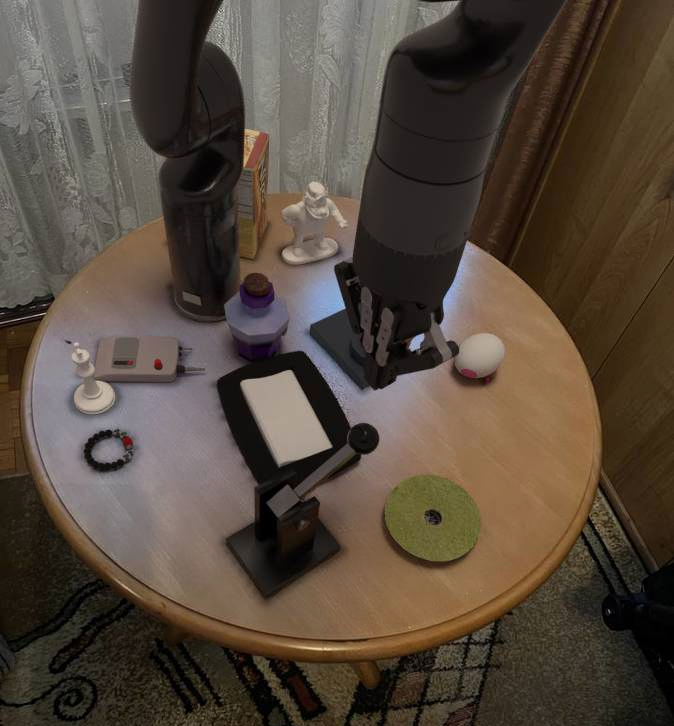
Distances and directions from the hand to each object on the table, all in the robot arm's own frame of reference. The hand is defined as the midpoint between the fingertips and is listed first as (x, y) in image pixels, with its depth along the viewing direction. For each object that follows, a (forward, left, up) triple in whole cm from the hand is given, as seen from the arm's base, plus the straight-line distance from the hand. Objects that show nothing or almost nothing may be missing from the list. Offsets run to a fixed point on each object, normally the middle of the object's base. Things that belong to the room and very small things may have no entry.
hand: (377, 381), depth 57 cm
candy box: (-46, +16, -23) cm, 54 cm away
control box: (-19, +17, -23) cm, 34 cm away
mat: (+7, +7, -23) cm, 25 cm away
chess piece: (-30, -17, -23) cm, 42 cm away
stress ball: (-8, +28, -23) cm, 37 cm away
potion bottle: (-27, +5, -23) cm, 36 cm away
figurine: (-38, +22, -23) cm, 50 cm away
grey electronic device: (-32, -9, -23) cm, 41 cm away
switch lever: (0, -4, -12) cm, 13 cm away
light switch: (-14, +1, -23) cm, 27 cm away
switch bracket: (0, -9, -23) cm, 25 cm away
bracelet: (-22, -19, -23) cm, 37 cm away
